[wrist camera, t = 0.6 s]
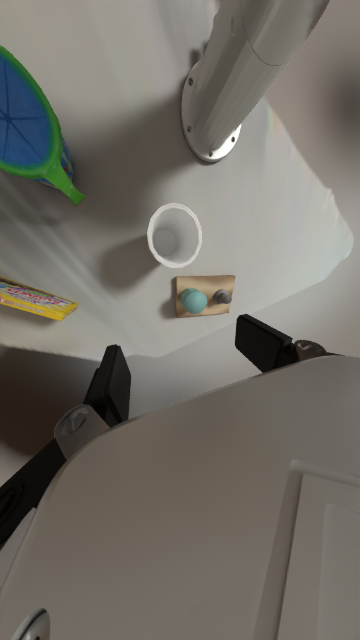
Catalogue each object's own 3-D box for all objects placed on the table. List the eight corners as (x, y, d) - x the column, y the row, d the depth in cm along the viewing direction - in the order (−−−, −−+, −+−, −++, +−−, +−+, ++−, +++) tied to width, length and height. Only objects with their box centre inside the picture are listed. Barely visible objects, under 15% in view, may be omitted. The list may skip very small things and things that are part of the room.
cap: (180, 287, 39) (185, 292, 34) (200, 287, 40) (208, 291, 36) (179, 308, 41) (184, 315, 37) (199, 307, 43) (205, 313, 39)
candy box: (79, 302, 35) (63, 314, 28) (77, 309, 36) (61, 323, 29) (-10, 271, 29) (-60, 276, 22) (-11, 280, 29) (-60, 289, 22)
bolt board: (175, 276, 39) (180, 279, 34) (232, 275, 43) (244, 278, 38) (175, 315, 44) (180, 323, 39) (226, 311, 48) (235, 317, 43)
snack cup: (107, 197, 28) (92, 171, 20) (65, 225, 29) (31, 212, 20) (32, 76, 21) (-49, -55, 12) (-26, 115, 21) (-147, 15, 12)
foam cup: (164, 271, 37) (175, 279, 26) (136, 242, 33) (134, 236, 22) (189, 244, 36) (212, 239, 25) (164, 210, 32) (177, 186, 20)
